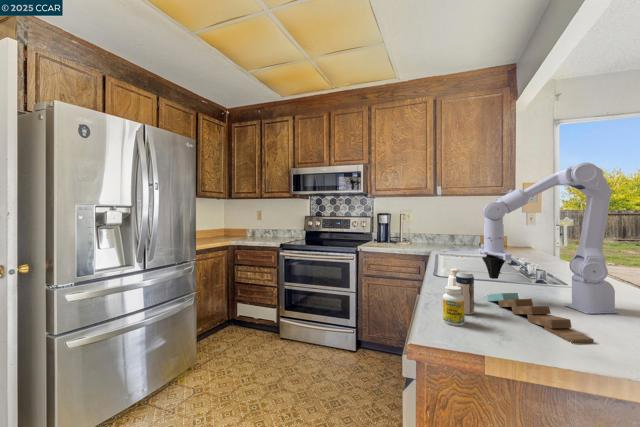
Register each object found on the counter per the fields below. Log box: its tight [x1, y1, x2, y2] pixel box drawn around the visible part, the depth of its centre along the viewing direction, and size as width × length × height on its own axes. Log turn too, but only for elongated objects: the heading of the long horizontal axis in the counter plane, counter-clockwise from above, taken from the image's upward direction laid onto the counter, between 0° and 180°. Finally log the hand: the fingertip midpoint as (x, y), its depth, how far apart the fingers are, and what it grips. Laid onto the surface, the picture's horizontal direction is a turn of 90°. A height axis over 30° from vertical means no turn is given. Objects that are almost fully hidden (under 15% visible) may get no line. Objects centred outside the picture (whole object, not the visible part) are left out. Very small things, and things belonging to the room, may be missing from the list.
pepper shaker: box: [447, 268, 460, 286], centre depth 98 cm, size 5×5×11 cm
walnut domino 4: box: [543, 326, 595, 345], centre depth 71 cm, size 2×5×8 cm
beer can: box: [456, 270, 475, 316], centre depth 87 cm, size 5×5×12 cm
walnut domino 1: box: [497, 298, 534, 308], centre depth 89 cm, size 2×5×8 cm
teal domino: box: [486, 292, 520, 302], centre depth 95 cm, size 2×5×8 cm
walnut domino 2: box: [511, 305, 552, 315], centre depth 83 cm, size 2×5×8 cm
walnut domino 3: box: [526, 314, 572, 329], centre depth 77 cm, size 2×5×8 cm
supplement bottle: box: [442, 285, 466, 327], centre depth 80 cm, size 5×5×10 cm
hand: (493, 278), depth 99 cm, fingers closed
